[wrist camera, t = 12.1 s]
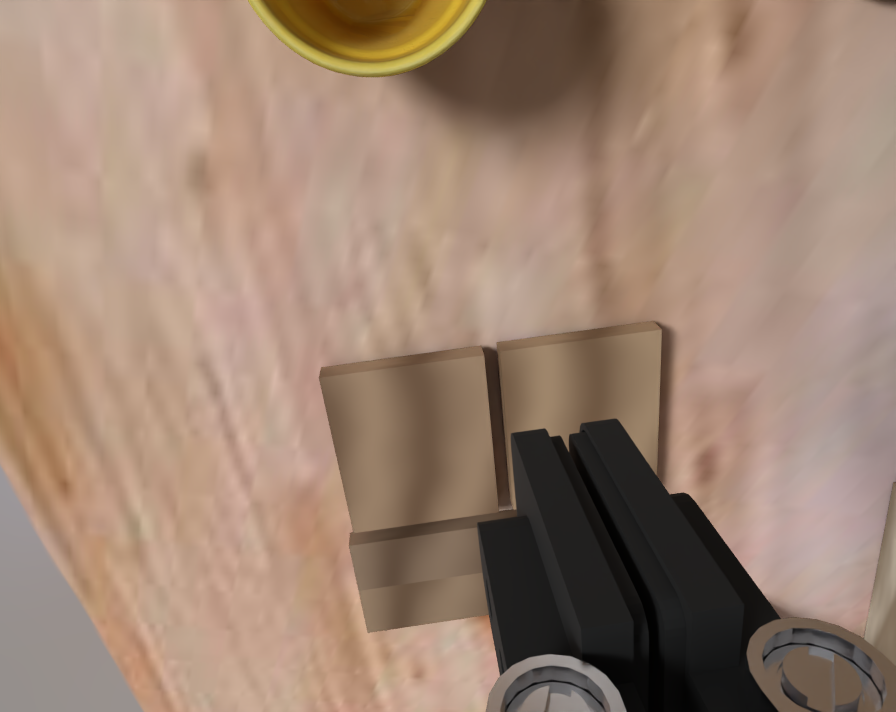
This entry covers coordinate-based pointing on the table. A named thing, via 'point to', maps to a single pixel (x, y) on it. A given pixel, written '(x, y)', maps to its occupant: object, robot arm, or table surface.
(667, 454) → the table surface
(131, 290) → the table surface
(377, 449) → the plank
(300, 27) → the plant pot
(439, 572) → the floor strip
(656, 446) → the plank
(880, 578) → the wooden frame
